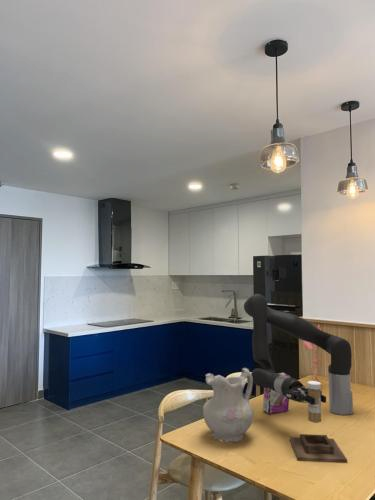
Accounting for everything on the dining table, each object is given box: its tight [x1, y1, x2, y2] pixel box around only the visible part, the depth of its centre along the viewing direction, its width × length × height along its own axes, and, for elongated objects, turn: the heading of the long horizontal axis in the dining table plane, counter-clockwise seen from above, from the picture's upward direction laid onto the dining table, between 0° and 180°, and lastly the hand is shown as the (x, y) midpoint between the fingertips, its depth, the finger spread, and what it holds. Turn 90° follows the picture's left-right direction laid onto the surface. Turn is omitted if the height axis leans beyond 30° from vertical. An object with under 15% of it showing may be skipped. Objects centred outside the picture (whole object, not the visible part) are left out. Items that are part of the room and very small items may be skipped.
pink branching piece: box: [303, 324, 323, 387], centre depth 203 cm, size 15×26×35 cm, turn 149°
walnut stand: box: [289, 433, 348, 463], centre depth 132 cm, size 16×16×4 cm
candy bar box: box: [262, 372, 291, 415], centre depth 170 cm, size 11×5×16 cm, turn 114°
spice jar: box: [306, 380, 322, 424], centre depth 133 cm, size 5×5×13 cm
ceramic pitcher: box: [202, 367, 255, 443], centre depth 146 cm, size 22×20×25 cm
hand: (320, 400), depth 131 cm, fingers closed on spice jar, 4 cm apart
